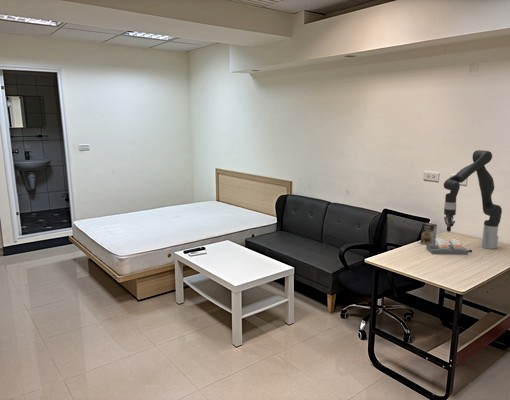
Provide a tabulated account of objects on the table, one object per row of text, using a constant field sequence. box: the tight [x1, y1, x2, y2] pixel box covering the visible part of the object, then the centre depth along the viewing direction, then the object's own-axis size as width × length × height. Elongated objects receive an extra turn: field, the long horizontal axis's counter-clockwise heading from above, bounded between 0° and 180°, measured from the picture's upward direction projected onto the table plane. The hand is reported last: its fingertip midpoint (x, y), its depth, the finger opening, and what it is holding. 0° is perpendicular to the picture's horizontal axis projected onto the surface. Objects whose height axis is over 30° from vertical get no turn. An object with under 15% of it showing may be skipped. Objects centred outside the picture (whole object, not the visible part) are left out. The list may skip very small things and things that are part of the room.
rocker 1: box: [435, 238, 449, 250], centre depth 282 cm, size 6×10×2 cm, turn 176°
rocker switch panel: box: [425, 244, 473, 256], centre depth 282 cm, size 30×12×4 cm, turn 86°
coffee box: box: [420, 222, 438, 246], centre depth 299 cm, size 9×6×16 cm
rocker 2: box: [448, 239, 464, 249], centre depth 281 cm, size 6×10×2 cm, turn 176°
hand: (448, 231), depth 278 cm, fingers closed
